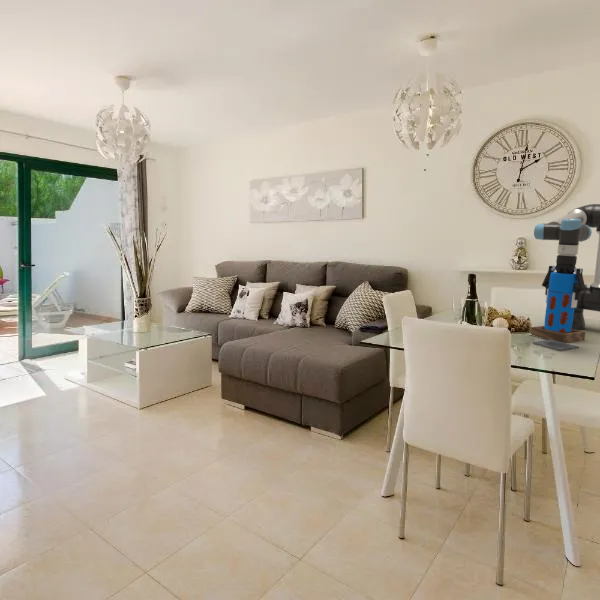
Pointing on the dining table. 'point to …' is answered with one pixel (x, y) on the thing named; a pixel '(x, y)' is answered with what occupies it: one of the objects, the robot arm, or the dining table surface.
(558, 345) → the mat
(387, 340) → the dining table surface
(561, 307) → the blue box
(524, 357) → the dining table surface
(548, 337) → the tray
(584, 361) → the dining table surface
